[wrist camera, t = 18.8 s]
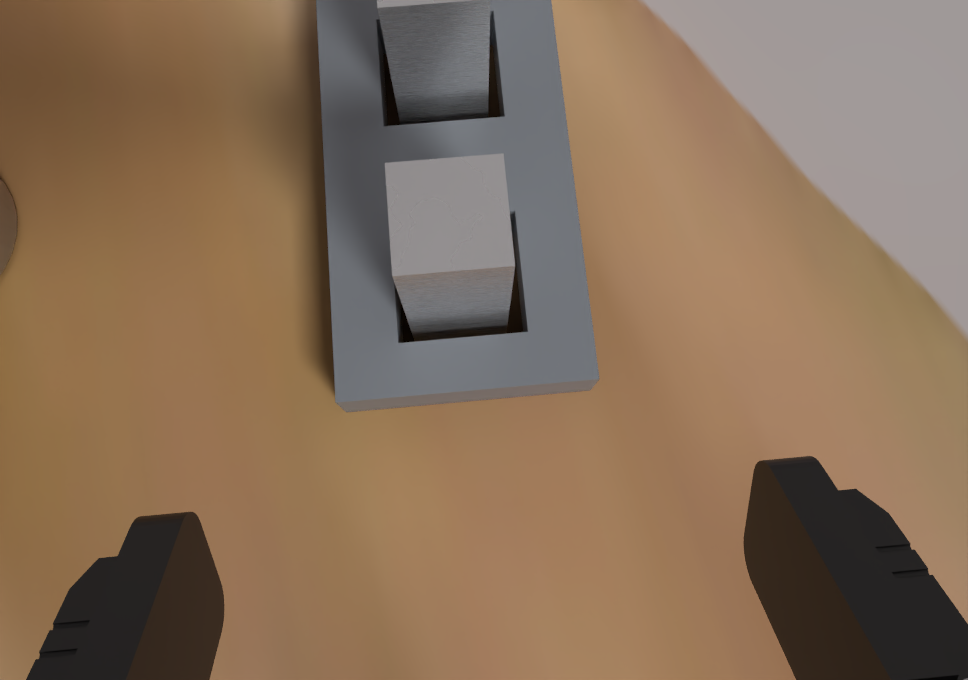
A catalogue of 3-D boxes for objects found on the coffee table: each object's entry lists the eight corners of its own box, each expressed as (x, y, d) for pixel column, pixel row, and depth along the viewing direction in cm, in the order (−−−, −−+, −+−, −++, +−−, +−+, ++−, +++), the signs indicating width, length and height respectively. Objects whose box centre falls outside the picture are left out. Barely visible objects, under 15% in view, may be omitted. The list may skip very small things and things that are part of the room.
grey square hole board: (590, 390, 39) (599, 378, 36) (346, 412, 39) (335, 402, 36) (542, 1, 44) (546, -36, 41) (326, 18, 44) (315, -19, 41)
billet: (505, 337, 40) (515, 265, 29) (416, 344, 40) (392, 276, 29) (497, 252, 41) (503, 153, 30) (409, 259, 41) (384, 162, 30)
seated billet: (487, 133, 42) (490, -1, 32) (403, 140, 42) (377, 7, 31) (480, 58, 43) (480, -96, 33) (397, 65, 43) (370, -88, 33)
